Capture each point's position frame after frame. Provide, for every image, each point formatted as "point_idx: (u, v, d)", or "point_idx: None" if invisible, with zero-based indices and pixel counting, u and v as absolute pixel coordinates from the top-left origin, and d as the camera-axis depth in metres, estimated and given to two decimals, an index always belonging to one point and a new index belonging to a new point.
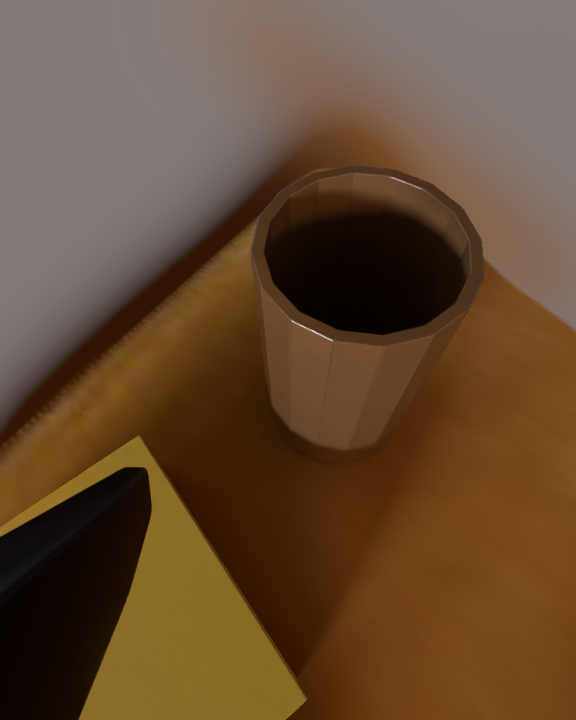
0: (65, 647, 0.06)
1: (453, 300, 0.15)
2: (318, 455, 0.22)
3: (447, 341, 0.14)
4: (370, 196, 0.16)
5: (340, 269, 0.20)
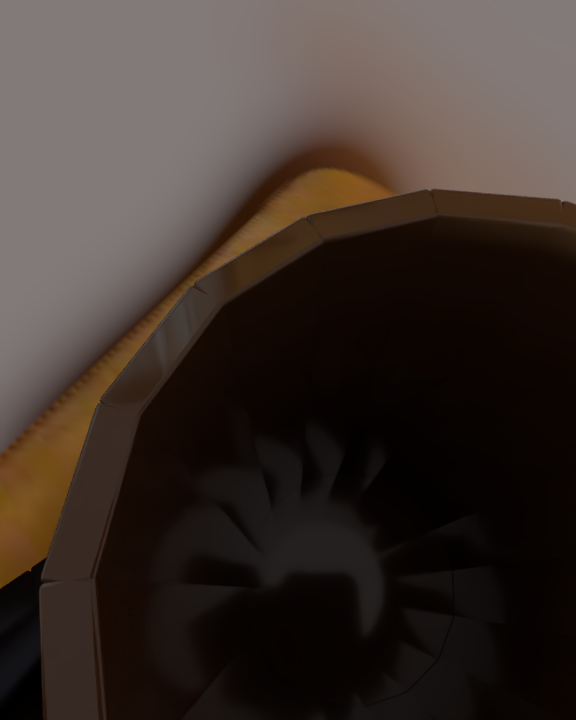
0: None
1: None
2: None
3: None
4: (476, 275, 0.05)
5: (367, 400, 0.09)
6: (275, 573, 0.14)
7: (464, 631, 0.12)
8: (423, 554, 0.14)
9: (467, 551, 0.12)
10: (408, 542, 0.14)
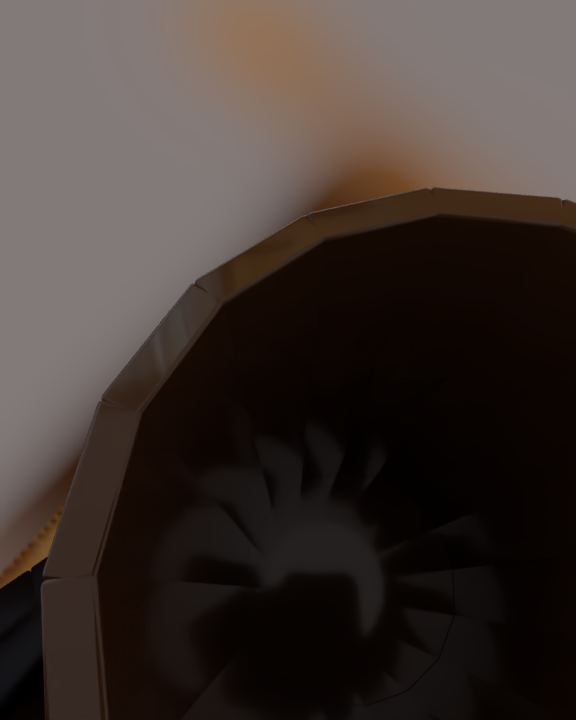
0: None
1: None
2: None
3: None
4: (476, 273, 0.05)
5: (367, 399, 0.09)
6: (275, 572, 0.14)
7: (464, 630, 0.12)
8: (423, 553, 0.14)
9: (467, 550, 0.12)
10: (408, 541, 0.14)
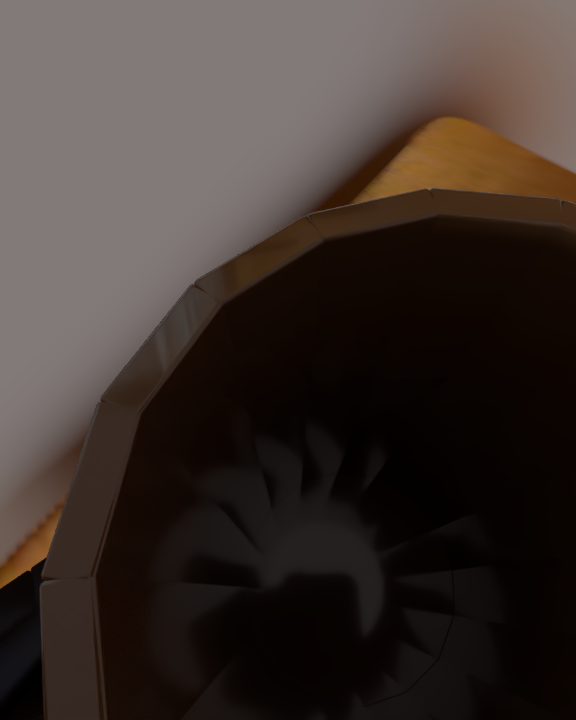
0: None
1: None
2: None
3: None
4: (475, 274, 0.05)
5: (367, 399, 0.09)
6: (275, 573, 0.14)
7: (464, 631, 0.12)
8: (423, 554, 0.14)
9: (467, 551, 0.12)
10: (408, 542, 0.14)
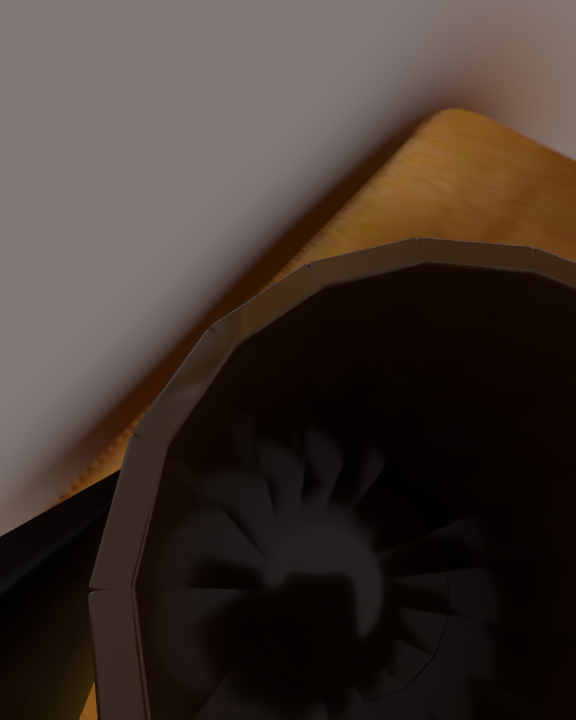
0: (65, 647, 0.06)
1: None
2: None
3: None
4: (460, 309, 0.06)
5: (364, 413, 0.10)
6: (278, 576, 0.14)
7: (458, 629, 0.13)
8: (419, 556, 0.14)
9: (461, 553, 0.13)
10: (405, 545, 0.15)
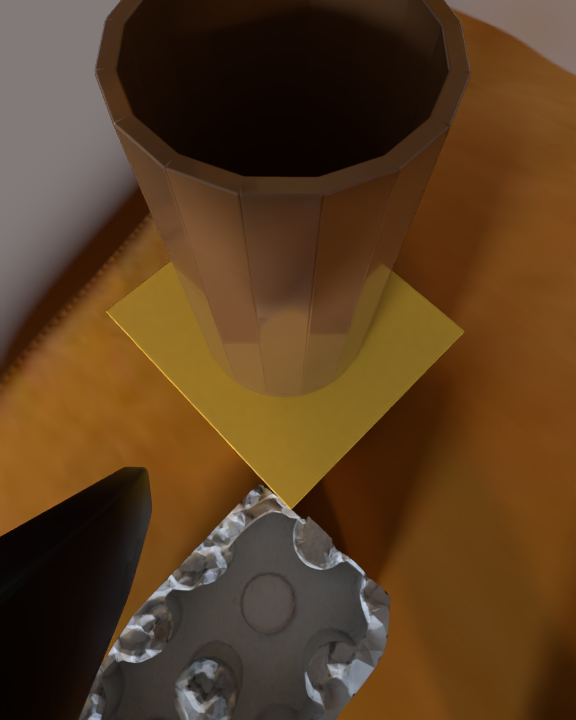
0: (65, 647, 0.06)
1: None
2: (270, 389, 0.18)
3: (420, 193, 0.09)
4: None
5: (266, 135, 0.14)
6: None
7: None
8: None
9: None
10: None
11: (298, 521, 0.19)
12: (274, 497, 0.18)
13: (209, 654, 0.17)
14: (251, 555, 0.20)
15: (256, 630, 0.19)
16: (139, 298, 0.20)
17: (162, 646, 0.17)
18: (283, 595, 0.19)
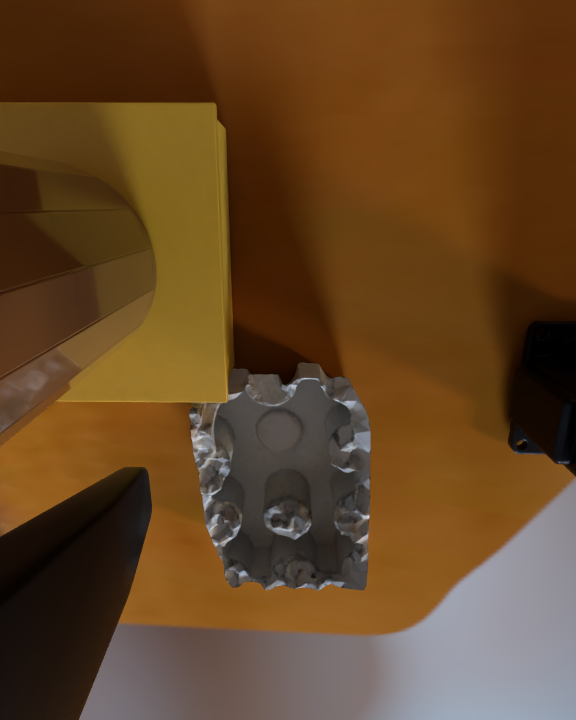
0: (65, 647, 0.06)
1: None
2: None
3: None
4: None
5: None
6: None
7: None
8: None
9: None
10: None
11: (244, 386, 0.20)
12: None
13: (269, 498, 0.22)
14: (241, 415, 0.23)
15: (287, 450, 0.23)
16: None
17: (238, 522, 0.21)
18: (284, 420, 0.22)
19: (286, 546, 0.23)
